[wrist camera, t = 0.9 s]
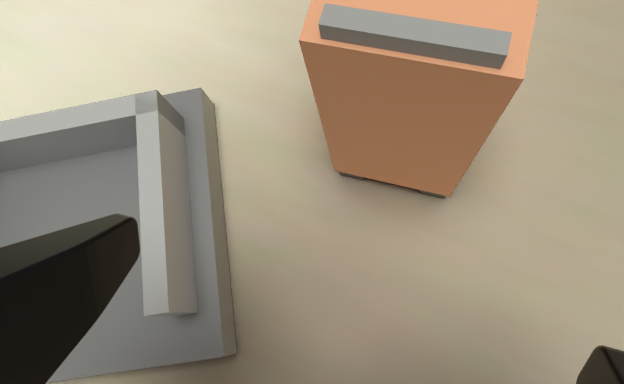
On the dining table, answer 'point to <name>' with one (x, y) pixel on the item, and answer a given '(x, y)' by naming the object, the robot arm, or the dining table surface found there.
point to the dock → (140, 205)
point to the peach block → (413, 82)
